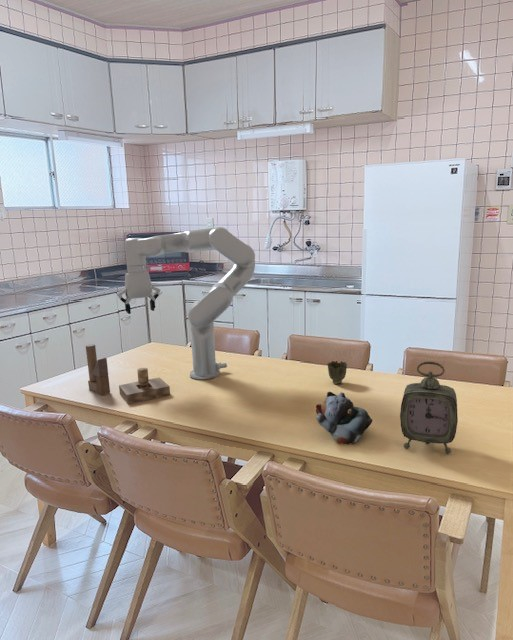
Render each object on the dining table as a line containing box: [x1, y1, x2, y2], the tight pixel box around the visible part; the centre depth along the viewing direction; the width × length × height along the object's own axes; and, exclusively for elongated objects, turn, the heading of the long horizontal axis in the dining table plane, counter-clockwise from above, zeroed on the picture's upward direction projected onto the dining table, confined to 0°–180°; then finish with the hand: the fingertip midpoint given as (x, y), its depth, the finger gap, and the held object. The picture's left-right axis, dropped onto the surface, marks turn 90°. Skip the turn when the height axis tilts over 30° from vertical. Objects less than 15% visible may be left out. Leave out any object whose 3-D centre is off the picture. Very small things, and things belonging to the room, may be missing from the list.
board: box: [118, 376, 171, 405], centre depth 185 cm, size 16×12×4 cm
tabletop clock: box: [399, 361, 459, 455], centre depth 134 cm, size 14×9×25 cm, turn 69°
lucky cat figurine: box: [315, 391, 373, 445], centre depth 145 cm, size 15×12×14 cm
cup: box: [327, 360, 348, 385], centre depth 188 cm, size 8×7×8 cm
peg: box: [137, 367, 149, 389], centre depth 184 cm, size 4×4×10 cm
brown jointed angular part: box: [85, 343, 111, 396], centre depth 189 cm, size 4×11×18 cm, turn 45°
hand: (140, 311), depth 197 cm, fingers open, 9 cm apart
